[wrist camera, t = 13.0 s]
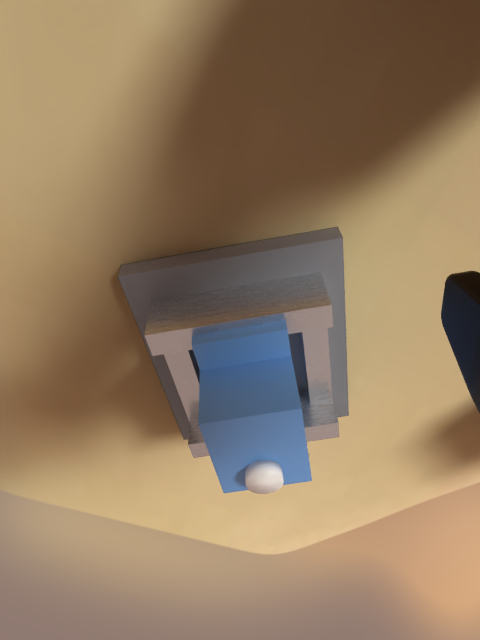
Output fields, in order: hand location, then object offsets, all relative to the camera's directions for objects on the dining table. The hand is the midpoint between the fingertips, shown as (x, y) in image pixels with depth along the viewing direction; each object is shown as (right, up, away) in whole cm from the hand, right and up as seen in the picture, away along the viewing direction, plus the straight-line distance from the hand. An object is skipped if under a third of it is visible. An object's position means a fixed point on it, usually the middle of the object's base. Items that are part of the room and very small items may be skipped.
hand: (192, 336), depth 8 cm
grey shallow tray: (+1, -1, +16) cm, 16 cm away
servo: (+1, -2, +15) cm, 15 cm away
